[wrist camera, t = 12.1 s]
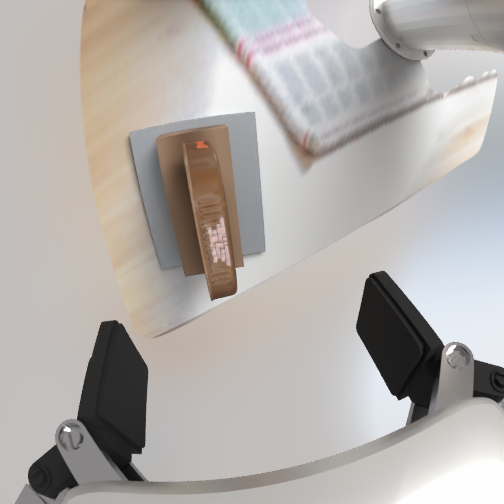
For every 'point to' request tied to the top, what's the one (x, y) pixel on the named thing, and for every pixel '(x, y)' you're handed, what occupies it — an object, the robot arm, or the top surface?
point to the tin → (210, 217)
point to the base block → (180, 196)
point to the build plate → (243, 173)
